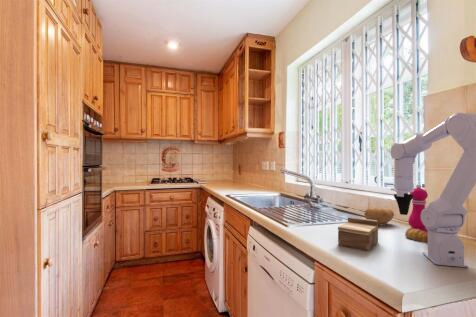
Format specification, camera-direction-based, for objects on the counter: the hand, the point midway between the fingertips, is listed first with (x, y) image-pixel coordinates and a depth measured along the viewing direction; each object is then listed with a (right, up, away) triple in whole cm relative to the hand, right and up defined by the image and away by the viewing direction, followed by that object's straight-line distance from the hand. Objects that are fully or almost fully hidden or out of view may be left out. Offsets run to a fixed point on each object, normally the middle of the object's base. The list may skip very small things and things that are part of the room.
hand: (403, 214), depth 95 cm
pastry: (+9, -11, +5) cm, 15 cm away
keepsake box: (-17, -11, -1) cm, 20 cm away
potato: (+6, -11, +28) cm, 30 cm away
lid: (-17, -5, -1) cm, 17 cm away
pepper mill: (+14, -11, +12) cm, 22 cm away
